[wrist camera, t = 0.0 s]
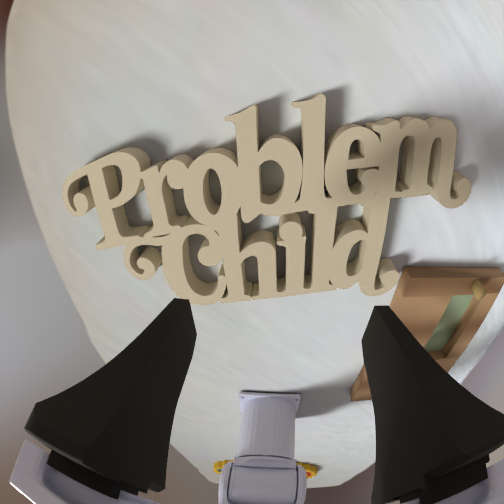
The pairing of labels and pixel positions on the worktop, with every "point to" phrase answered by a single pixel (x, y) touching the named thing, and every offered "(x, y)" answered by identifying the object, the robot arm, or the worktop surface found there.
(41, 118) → the worktop surface
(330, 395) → the worktop surface
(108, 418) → the robot arm
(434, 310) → the board
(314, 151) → the decorative sign
